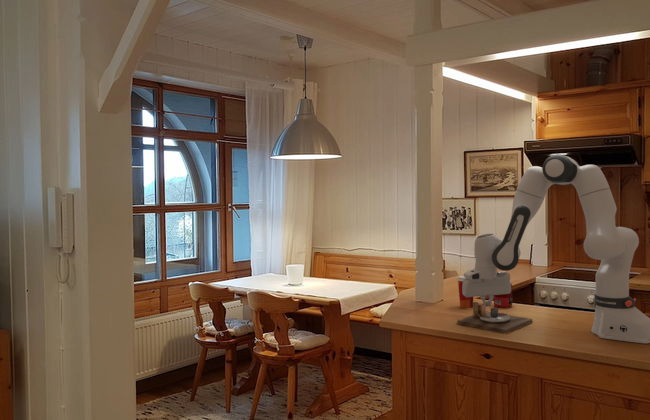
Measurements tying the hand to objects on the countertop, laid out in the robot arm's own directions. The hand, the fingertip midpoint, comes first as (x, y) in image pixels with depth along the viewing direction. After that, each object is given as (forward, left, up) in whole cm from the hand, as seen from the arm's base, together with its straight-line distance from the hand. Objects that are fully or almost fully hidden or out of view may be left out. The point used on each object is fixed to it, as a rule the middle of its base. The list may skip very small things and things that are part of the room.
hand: (487, 305), depth 241 cm
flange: (-4, +4, -4) cm, 7 cm away
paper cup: (+18, -12, -6) cm, 23 cm away
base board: (-6, +4, -6) cm, 9 cm away
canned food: (+6, -23, -6) cm, 25 cm away
